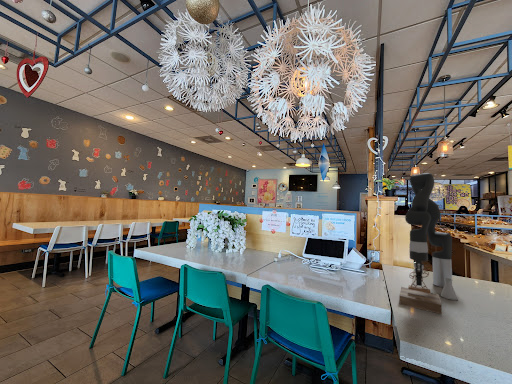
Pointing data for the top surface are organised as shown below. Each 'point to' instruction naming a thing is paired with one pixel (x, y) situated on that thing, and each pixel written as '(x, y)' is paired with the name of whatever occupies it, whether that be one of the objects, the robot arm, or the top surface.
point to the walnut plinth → (420, 300)
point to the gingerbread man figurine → (419, 287)
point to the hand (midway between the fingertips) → (419, 284)
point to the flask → (448, 290)
